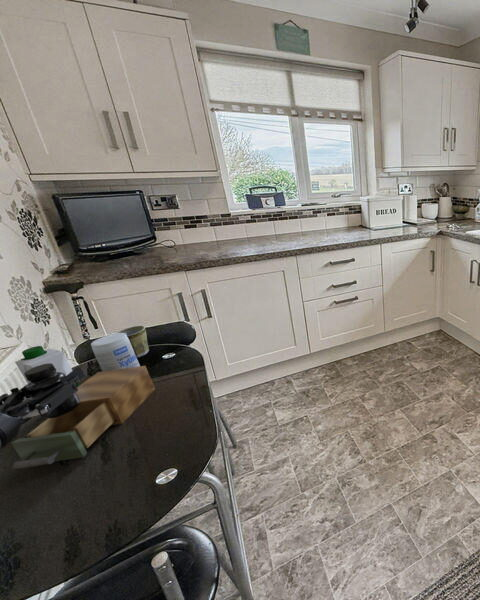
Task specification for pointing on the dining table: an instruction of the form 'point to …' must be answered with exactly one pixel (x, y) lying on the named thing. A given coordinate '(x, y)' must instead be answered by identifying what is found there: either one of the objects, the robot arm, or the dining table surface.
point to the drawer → (64, 435)
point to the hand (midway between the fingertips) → (63, 375)
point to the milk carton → (44, 360)
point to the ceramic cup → (137, 339)
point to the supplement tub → (114, 352)
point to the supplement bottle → (49, 387)
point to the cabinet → (118, 390)
